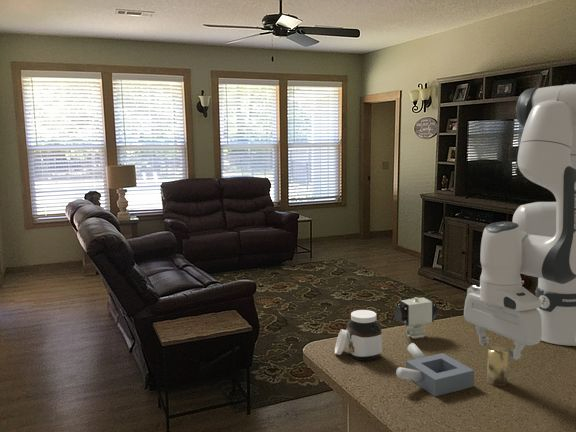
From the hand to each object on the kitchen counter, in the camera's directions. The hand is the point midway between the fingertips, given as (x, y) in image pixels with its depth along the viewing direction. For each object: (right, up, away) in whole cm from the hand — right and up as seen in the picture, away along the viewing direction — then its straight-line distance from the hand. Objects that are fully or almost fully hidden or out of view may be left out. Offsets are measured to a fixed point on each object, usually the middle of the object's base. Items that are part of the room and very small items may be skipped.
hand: (499, 351), depth 117 cm
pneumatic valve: (-12, -4, +31) cm, 34 cm away
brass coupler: (0, -8, +2) cm, 8 cm away
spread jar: (-31, -7, +20) cm, 37 cm away
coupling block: (-17, -8, +5) cm, 19 cm away
